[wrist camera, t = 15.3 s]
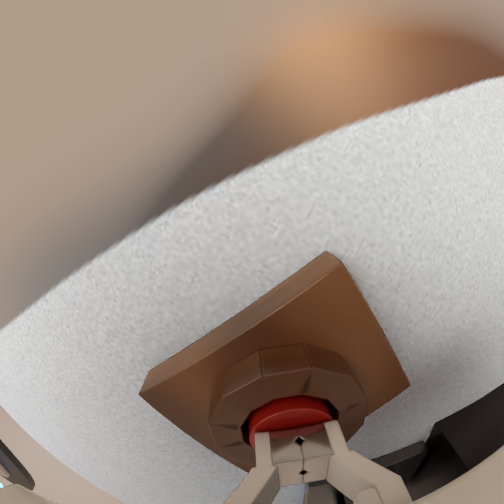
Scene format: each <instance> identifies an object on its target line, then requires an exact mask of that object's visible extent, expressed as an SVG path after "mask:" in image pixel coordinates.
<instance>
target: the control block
mask: <svg viewBox="0 0 504 504" xmlns="http://www.w3.org/2000/svg"><path fill="white" fill-rule="evenodd" d="M409 386H410V382H409V380H408V378H407V376H406V374H405V372H404V370H403V368H402V366H401V364H400V362H399V360H398V358H397V357H396V355H395V353H394V351H393V349H392V347H391V345H390V343H389V341H388V340H387V338H386V336H385V334H384V332H383V330H382V329H381V327H380V325H379V323H378V321H377V320H376V318H375V316H374V314H373V313H372V311H371V309H370V307H369V306H368V304H367V302H366V301H365V299H364V297H363V295H362V294H361V292H360V290H359V289H358V287H357V285H356V284H355V282H354V280H353V279H352V277H351V276H350V274H349V272H348V271H347V269H346V267H345V266H344V264H343V263H342V262H341V261H340V260H338V259H337V258H336V257H334V256H333V255H332V254H330V253H329V252H328V251H325V252H323V253H322V254H321V255H319V256H318V257H317V258H315V259H314V260H313V261H311V262H310V263H309V264H307V265H306V266H304V267H303V268H302V269H300V270H299V271H298V272H296V273H295V274H293V275H292V276H291V277H289V278H288V279H287V280H285V281H284V282H282V283H281V284H280V285H278V286H277V287H275V288H274V289H272V290H271V291H270V292H268V293H267V294H265V295H264V296H263V297H261V298H260V299H258V300H257V301H255V302H254V303H252V304H251V305H250V306H248V307H247V308H245V309H244V310H242V311H241V312H239V313H238V314H236V315H235V316H233V317H232V318H231V319H229V320H228V321H226V322H225V323H223V324H222V325H220V326H219V327H217V328H216V329H214V330H213V331H211V332H210V333H208V334H207V335H205V336H203V337H202V338H200V339H199V340H197V341H196V342H194V343H193V344H191V345H190V346H188V347H187V348H185V349H183V350H182V351H180V352H179V353H177V354H176V355H174V356H172V357H171V358H169V359H168V360H166V361H164V362H163V363H161V364H160V365H158V366H156V367H155V368H153V369H152V370H150V371H149V373H148V375H147V377H146V379H145V381H144V384H143V386H142V388H141V390H140V392H139V395H140V396H141V397H142V398H143V399H144V400H145V401H146V402H148V403H149V404H150V405H151V406H152V407H153V408H155V409H156V410H157V411H158V412H159V413H161V414H162V415H163V416H164V417H166V418H167V419H168V420H169V421H171V422H172V423H173V424H175V425H176V426H177V427H178V428H180V429H181V430H182V431H184V432H185V433H187V434H188V435H189V436H191V437H192V438H194V439H195V440H196V441H198V442H199V443H201V444H202V445H204V446H205V447H207V448H208V449H210V450H211V451H213V452H214V453H216V454H217V455H219V456H220V457H222V458H224V459H225V460H227V461H229V462H230V463H232V464H234V465H235V466H237V467H239V468H241V469H242V470H244V471H246V472H248V473H249V471H250V470H251V469H252V468H254V467H256V453H255V449H254V448H253V447H252V445H251V444H250V440H249V420H248V415H249V414H250V412H251V411H253V410H255V409H257V408H259V407H261V406H263V405H264V404H266V403H268V402H270V401H272V400H274V399H277V398H284V397H290V396H297V395H308V396H312V397H317V398H322V399H325V401H326V403H327V406H328V408H329V411H330V414H331V416H332V419H333V420H337V421H338V423H339V425H340V428H341V431H342V433H343V436H344V438H345V441H346V442H347V441H348V440H349V439H350V438H351V437H352V436H353V435H354V434H355V433H356V432H357V431H358V430H359V428H360V427H361V426H362V425H363V423H364V418H365V417H366V416H368V415H369V414H371V413H372V412H374V411H375V410H377V409H378V408H380V407H381V406H383V405H384V404H386V403H387V402H389V401H390V400H391V399H393V398H394V397H396V396H397V395H398V394H400V393H401V392H402V391H404V390H405V389H406V388H408V387H409Z"/></svg>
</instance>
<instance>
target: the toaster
mask: <svg viewBox="0 0 504 504" xmlns="http://www.w3.org/2000/svg"><path fill="white" fill-rule="evenodd" d="M425 444H426V445H427V447H428V449H429V450H428V451H427V453H426V455H425V456H424V458H423V460H422V461H421V463H420V465H419V466H418V468H417V469H416V471H415V472H414V474H413V475H412V477H411V478H410V480H409V481H408V483H407V484H406V488H407V491H408V493H409V495H410V497H411V499H412V501H415V500H417V499H420V498H422V497H424V496H426V495H428V494H430V493H432V492H434V491H435V490H437V489H439V488H441V487H443V486H445V485H446V484H448V483H450V482H452V481H453V480H455V479H457V478H458V477H460V476H461V475H463V474H465V473H466V472H468V471H469V470H471V469H472V468H474V467H475V466H477V465H478V464H480V463H481V462H482V461H484V460H485V459H487V458H488V457H489V456H491V455H492V454H493V453H495V452H496V451H497V450H498V449H500V448H501V447H502V446H503V445H504V384H503V385H501V386H500V387H498V388H497V389H495V390H494V391H492V392H491V393H489V394H488V395H486V396H484V397H483V398H481V399H480V400H478V401H476V402H475V403H473V404H471V405H469V406H468V407H466V408H464V409H462V410H460V411H459V412H457V413H455V414H453V415H451V416H449V417H447V418H445V419H443V420H441V421H439V422H437V423H435V425H434V428H433V430H432V432H431V434H430V436H429V438H428V439H427V441H426V443H425Z"/></svg>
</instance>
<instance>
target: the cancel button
mask: <svg viewBox="0 0 504 504" xmlns="http://www.w3.org/2000/svg"><path fill="white" fill-rule="evenodd" d="M248 420H249V440H250V444H251V445H252V447H253V448H254V449H255V433H258V432H268V431H278V430H286V429H294V428H297V427H303V426H308V425H313V424H318V423H324V422H329V421H333V419H332V416H331V414H330V411H329V408H328V406H327V403H326V401H325V399H322V398H317V397H312V396H308V395H297V396H290V397H284V398H277V399H274V400H272V401H270V402H268V403H266V404H264V405H263V406H261V407H259V408H257V409H255V410H253V411H251V412H250V414H249V415H248ZM269 436H270V435H269Z"/></svg>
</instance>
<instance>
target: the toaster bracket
mask: <svg viewBox="0 0 504 504" xmlns="http://www.w3.org/2000/svg"><path fill="white" fill-rule="evenodd" d="M428 450H429V449H428V447H427V445H426V444H425V442H424V441H421V442H418V443H416V444H414V445H411V446H409V447H406V448H404V449H401V450H399V451H396V452H394V453H391V454H388V455H385V456H382V457H379V458H376V459H373V460H371V461H373V462H375V463H377V464H378V465H380V466H382V467H384V468H386V469H388V470H390V471H392V472H393V473H395V474H397V475H399V476H401V478H402V480H403V482H404V484H405V486H406V484H407V483H408V481H409V480H410V478H411V477H412V475H413V474H414V472H415V471H416V469H417V468H418V466H419V465H420V463H421V461H422V460H423V458H424V456H425V455H426V453H427V451H428ZM353 503H354V502H353V501H352V500H351V499H349V498H348V497H347V496H345V495H344V494H343V493H342V492H340V491H339V490H338V489H336V488H335V487H334V486H333V485H332V484H330V483H329V482H328V481H327V480H326V479H324V480H318V481H313V482H307V483H306V484H305V494H304V502H303V504H353Z"/></svg>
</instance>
